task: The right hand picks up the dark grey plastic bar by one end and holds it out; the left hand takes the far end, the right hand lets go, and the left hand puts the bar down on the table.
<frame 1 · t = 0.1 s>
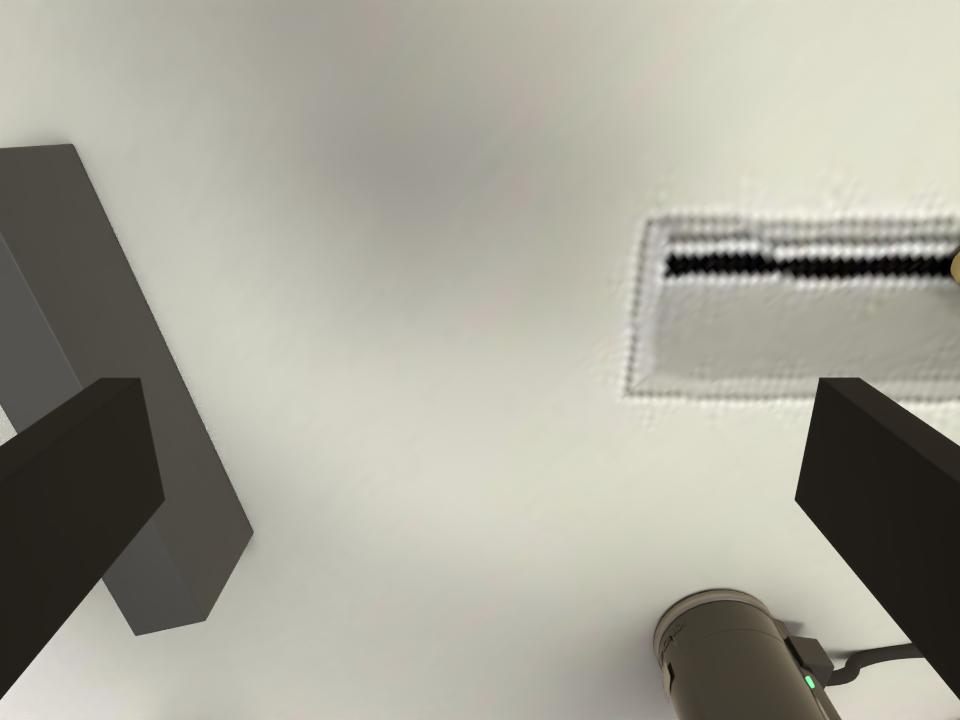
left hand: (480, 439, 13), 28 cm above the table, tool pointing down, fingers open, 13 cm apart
bar: (141, 368, 42), on the table
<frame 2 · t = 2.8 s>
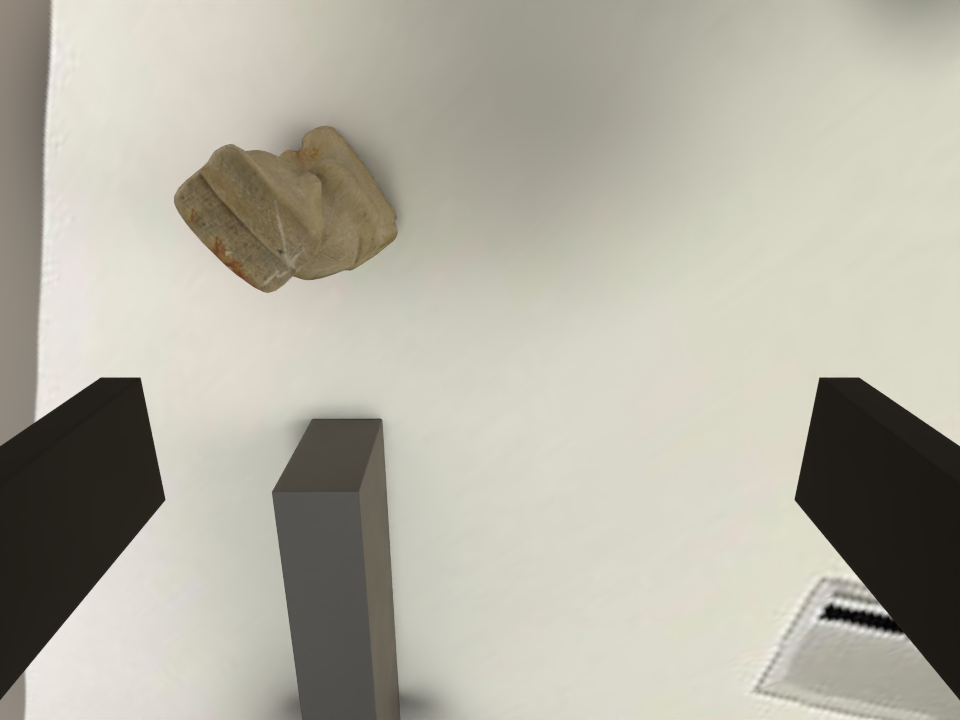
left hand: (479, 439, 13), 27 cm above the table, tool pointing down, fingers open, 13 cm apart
sculpture: (345, 194, 37), on the table
bar: (361, 589, 47), on the table, touching right hand
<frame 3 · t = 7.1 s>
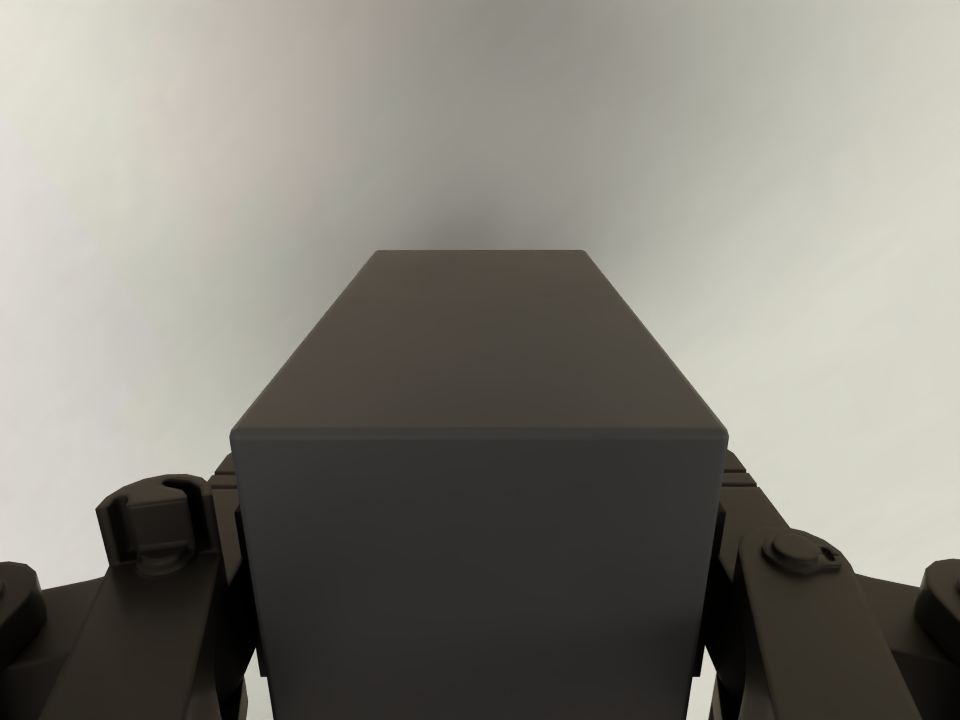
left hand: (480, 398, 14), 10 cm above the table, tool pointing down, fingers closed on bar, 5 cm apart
bar: (480, 717, 19), point 9 cm above the table, touching left hand, right hand
when the right hand's fingers open (13 cm above the table, at t = 8.0 s): bar stays where it is, held by the left hand.
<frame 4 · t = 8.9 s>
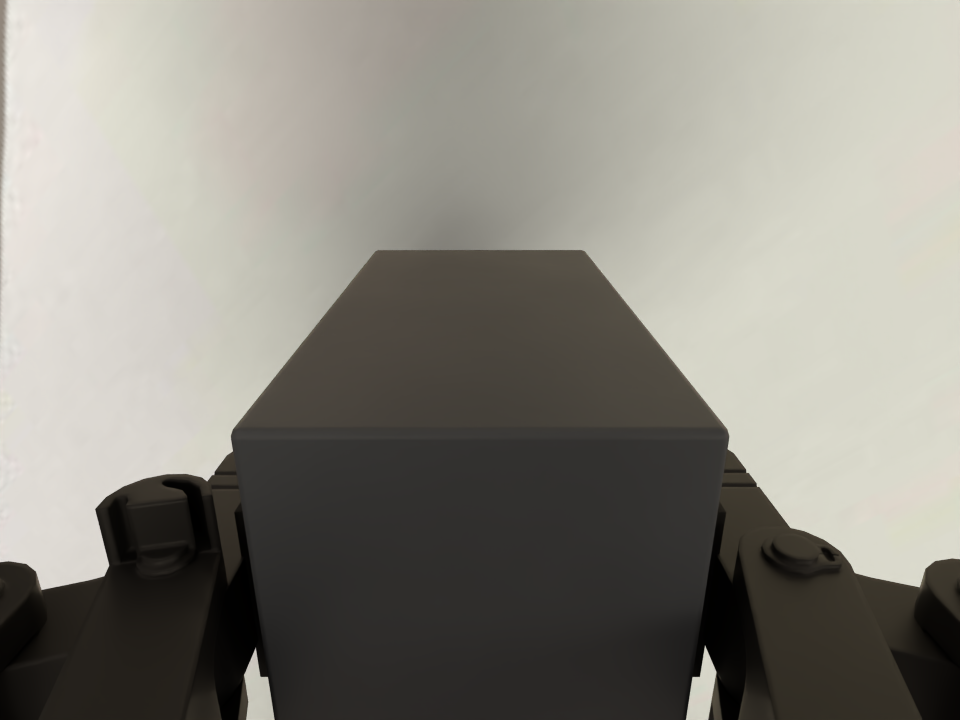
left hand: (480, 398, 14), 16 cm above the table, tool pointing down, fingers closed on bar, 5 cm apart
bar: (480, 717, 19), point 15 cm above the table, touching left hand
when the left hand's fingers open (3 cm above the table, at t = 16.6 s): bar drops 2 cm, on the table.
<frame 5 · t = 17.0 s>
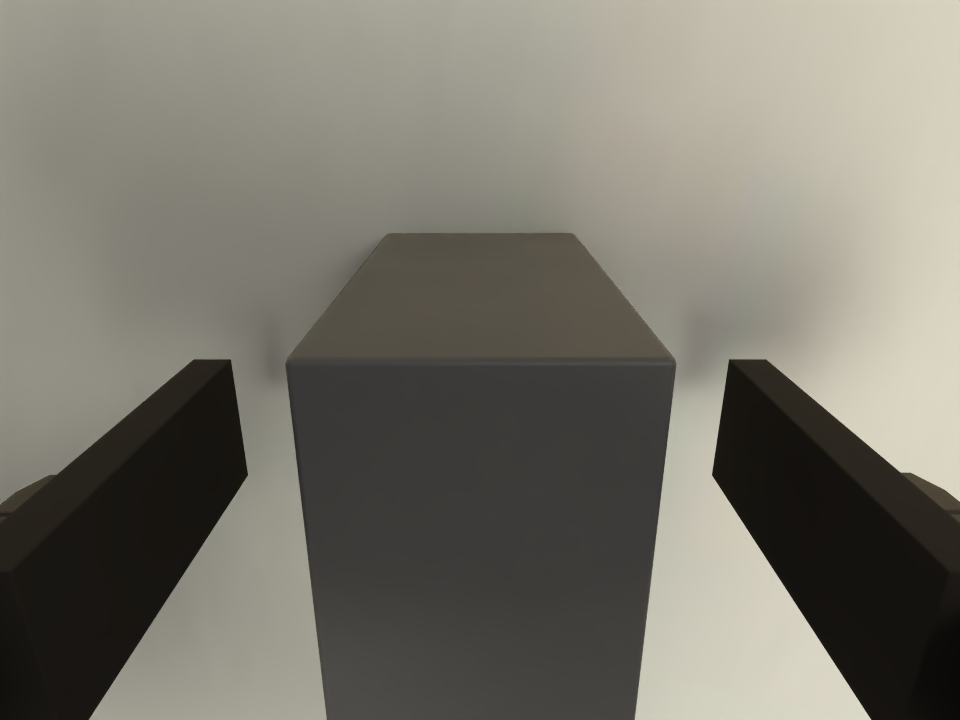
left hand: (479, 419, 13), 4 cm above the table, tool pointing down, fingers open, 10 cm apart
bar: (480, 666, 21), on the table
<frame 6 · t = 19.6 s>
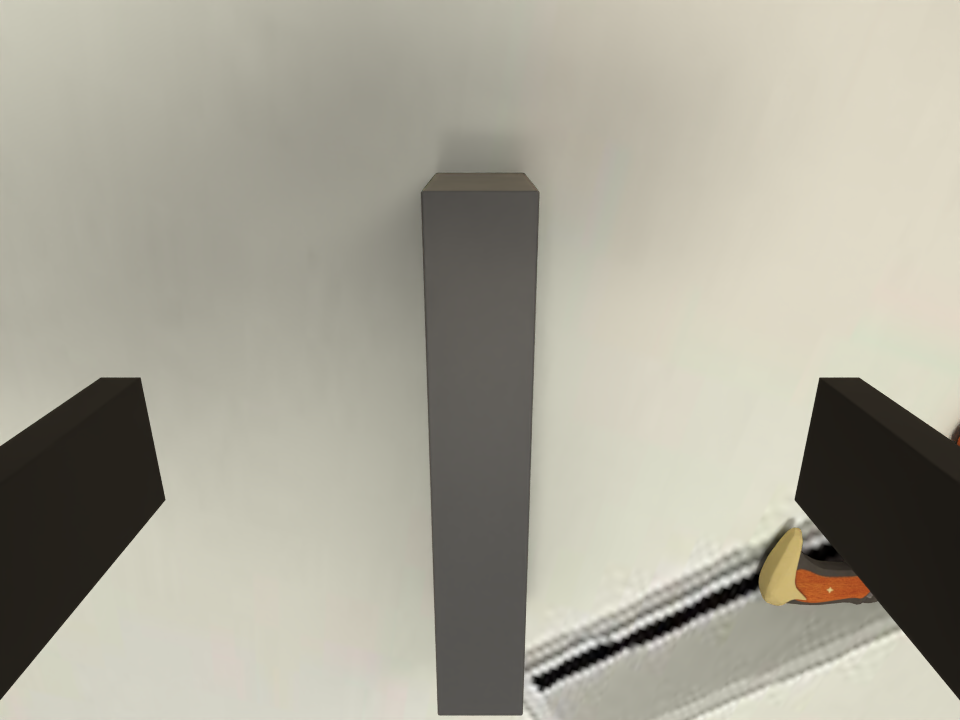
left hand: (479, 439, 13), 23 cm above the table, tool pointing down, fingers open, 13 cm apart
bar: (480, 415, 38), on the table
toy gun: (892, 494, 40), on the table
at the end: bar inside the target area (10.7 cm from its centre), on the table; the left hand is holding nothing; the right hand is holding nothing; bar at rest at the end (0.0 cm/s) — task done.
